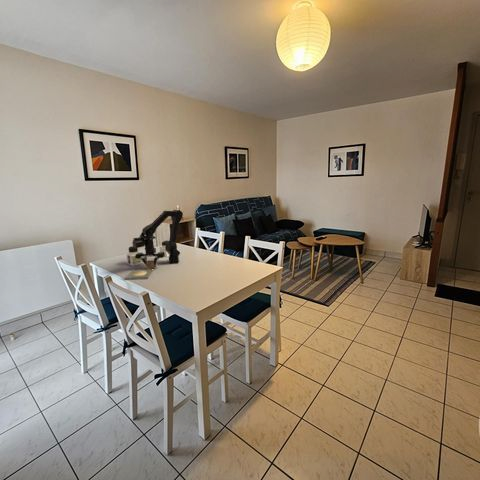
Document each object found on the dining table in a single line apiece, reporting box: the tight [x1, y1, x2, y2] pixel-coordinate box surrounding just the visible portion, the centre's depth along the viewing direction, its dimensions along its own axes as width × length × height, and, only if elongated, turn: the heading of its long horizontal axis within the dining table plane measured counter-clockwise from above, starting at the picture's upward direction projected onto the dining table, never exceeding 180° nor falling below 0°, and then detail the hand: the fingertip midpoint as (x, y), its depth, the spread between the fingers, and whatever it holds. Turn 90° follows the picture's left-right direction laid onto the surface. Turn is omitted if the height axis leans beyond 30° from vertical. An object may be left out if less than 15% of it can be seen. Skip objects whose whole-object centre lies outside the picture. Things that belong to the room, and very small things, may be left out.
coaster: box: [124, 269, 154, 281], centre depth 169 cm, size 14×14×1 cm
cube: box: [145, 259, 155, 270], centre depth 182 cm, size 5×5×5 cm
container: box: [125, 245, 143, 267], centre depth 191 cm, size 8×8×13 cm
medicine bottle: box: [159, 240, 170, 258], centre depth 212 cm, size 7×7×12 cm
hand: (151, 266), depth 182 cm, fingers closed on cube, 5 cm apart
